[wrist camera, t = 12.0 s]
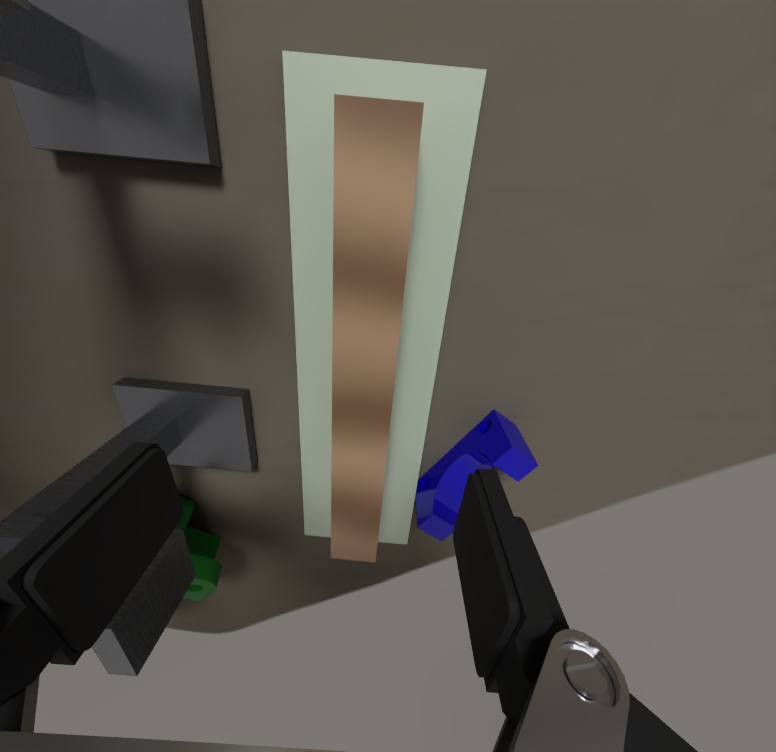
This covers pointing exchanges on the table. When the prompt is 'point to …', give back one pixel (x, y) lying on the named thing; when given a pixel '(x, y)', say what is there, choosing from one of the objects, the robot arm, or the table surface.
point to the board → (424, 265)
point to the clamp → (200, 555)
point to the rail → (367, 303)
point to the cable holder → (469, 471)
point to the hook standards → (141, 142)
